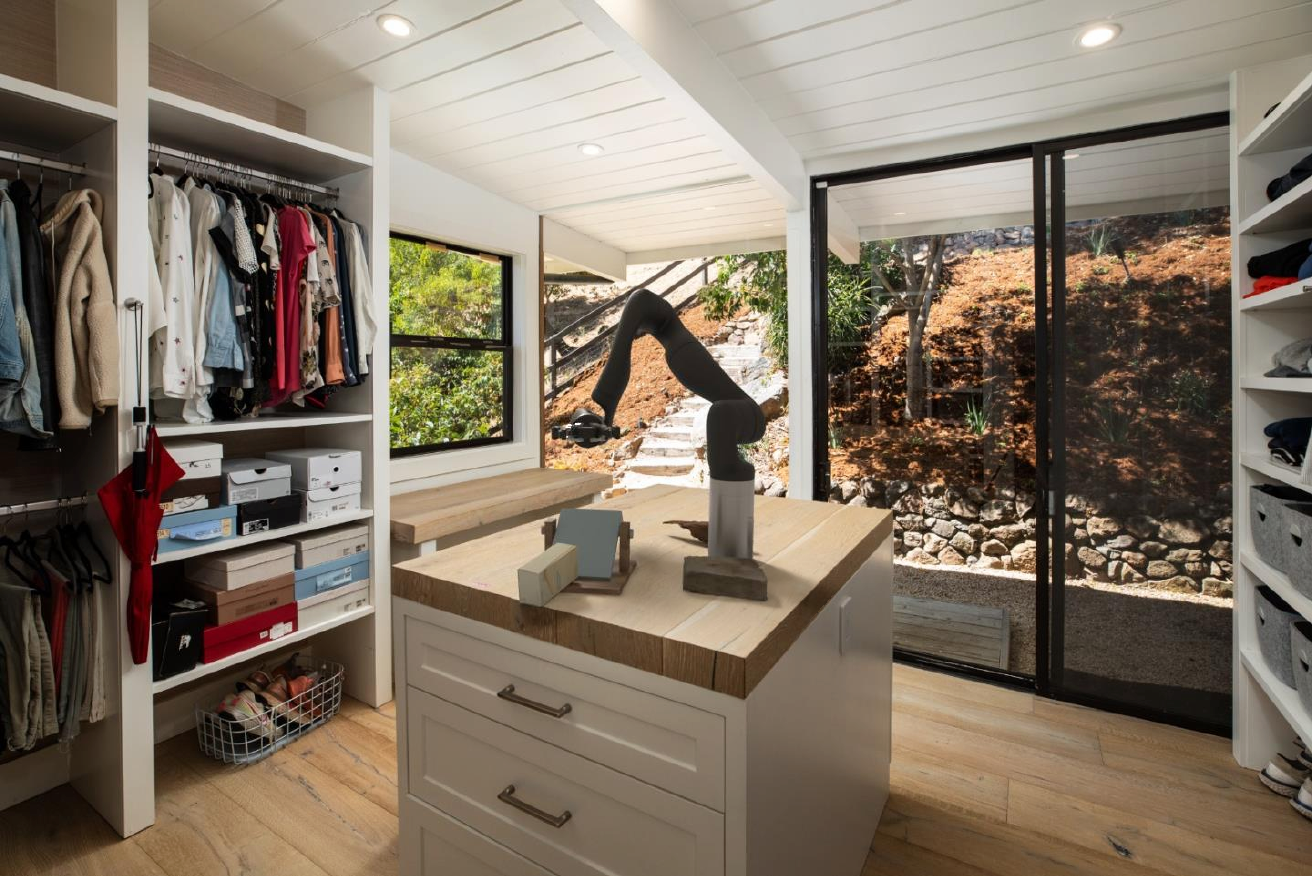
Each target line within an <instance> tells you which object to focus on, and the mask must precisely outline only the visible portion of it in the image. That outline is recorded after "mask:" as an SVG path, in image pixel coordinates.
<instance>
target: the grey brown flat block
mask: <svg viewBox="0 0 1312 876" xmlns="http://www.w3.org/2000/svg"><path fill="white" fill-rule="evenodd" d="M683 561H684V562H683V569H682V570H683V572H682V573H683V574H682V590H683V591H686V592H690V593H693V594H698V595H699V594H700V595H708V596H709V595H710V596H715V597H726V598H727V597H728V598H732V599H739V600H746V601H757V602H766V601H768V599H769V597H768V594H769V593H768V586H769V584H768V578H767V575H765V571H764V570H763V569H762V568H760V565H759V563H758V562H757V561H756V560H755V559H754V558H753V559H747V558H744V559H741V558H734V557H718V556H708V555H707V556H706V555H703V556H700V555H699V556H698V555H687V556H684V559H683Z"/></svg>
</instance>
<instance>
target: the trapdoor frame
mask: <svg viewBox="0 0 1312 876" xmlns="http://www.w3.org/2000/svg"><path fill="white" fill-rule="evenodd" d="M543 523H544V525H542V524H541V528H540V534H541V535H543V536H544V537H543V538H544V539H543V541H544V543H543V545H544V546H543V547H544V549H543V552H544V551H546V550H547V549H549V548H550V547H552V544H553V540H554V536H555V532H556V528H557V518H554V517H551V518H550V517H549V518H547V519H546V520H544V522H543ZM634 530H635V529H634V528H632V529H631V521H626V520H625V521H622V523H621V524H620V537H619V543H618V544H619V549H618V550H619V554H618V557H619V558H618V559H616V558H615V559H614V565H613V571H612V577H611V581H609V580H591V579H575V580H574V581H572V582H571V583H570V584H569V585H567V586H566V587H565V588H563V589H562V590H561V591H560V592H559V593H573V594H574V593H575V594H589V595H590V594H591V595H592V594H593V595H606V596H607V595H610V596H621V594H622V592H623V590H624V588H625V587H626V585H627V583H628V581H629V580H630V578H631V576H632V575H633V572H634V570H635V569H636V568H637V565H638V564H637V562H638V561H637V560H636V559H635V560H634V559H631V558H630V557H631V554H630V553H631V540H633V539H634V536H635V535H634V533H635V531H634Z"/></svg>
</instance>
